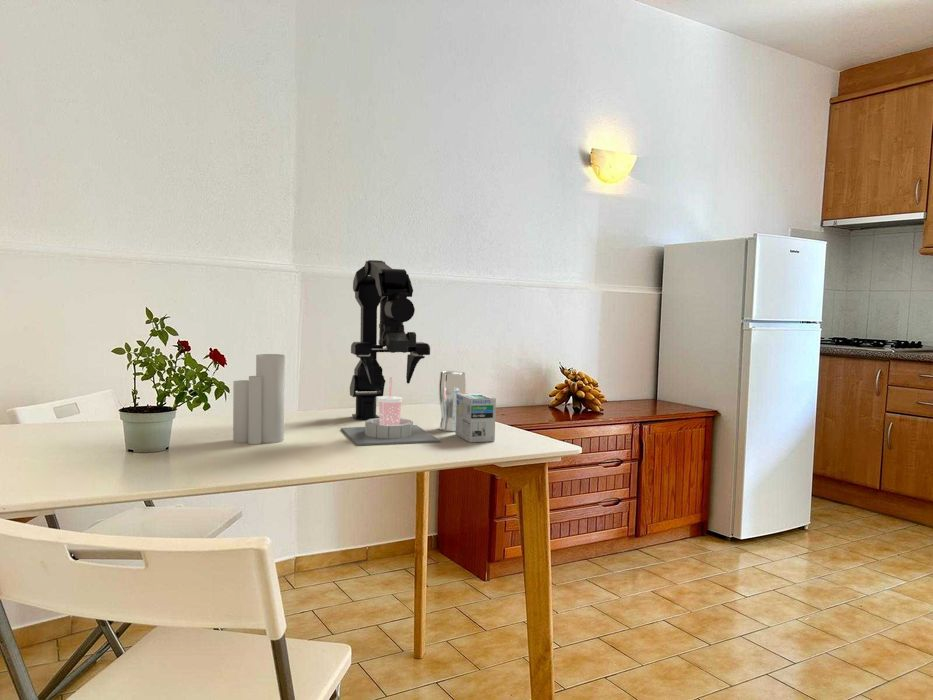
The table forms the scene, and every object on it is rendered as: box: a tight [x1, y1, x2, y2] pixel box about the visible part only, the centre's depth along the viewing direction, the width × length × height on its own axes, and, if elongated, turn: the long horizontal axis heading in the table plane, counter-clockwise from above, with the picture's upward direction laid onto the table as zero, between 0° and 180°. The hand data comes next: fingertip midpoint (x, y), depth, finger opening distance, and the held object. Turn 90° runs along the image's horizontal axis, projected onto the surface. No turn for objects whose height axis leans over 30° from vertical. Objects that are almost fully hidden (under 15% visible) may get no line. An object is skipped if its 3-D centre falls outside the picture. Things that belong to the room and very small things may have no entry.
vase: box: [232, 353, 286, 445], centre depth 170 cm, size 11×7×20 cm, turn 116°
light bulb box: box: [454, 392, 497, 443], centre depth 182 cm, size 11×7×11 cm, turn 22°
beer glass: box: [438, 370, 466, 432], centre depth 192 cm, size 7×7×15 cm
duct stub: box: [340, 417, 441, 447], centre depth 181 cm, size 20×20×4 cm
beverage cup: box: [377, 376, 403, 425], centre depth 181 cm, size 6×6×14 cm
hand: (390, 383), depth 181 cm, fingers open, 9 cm apart
